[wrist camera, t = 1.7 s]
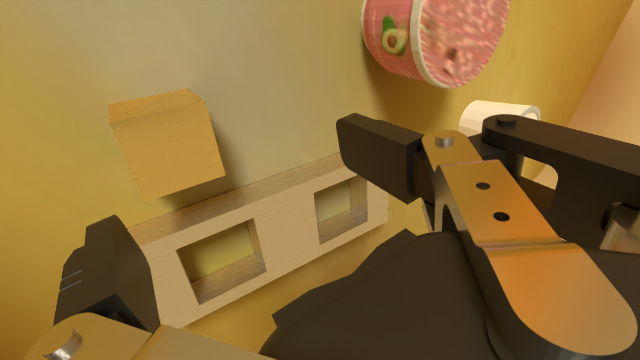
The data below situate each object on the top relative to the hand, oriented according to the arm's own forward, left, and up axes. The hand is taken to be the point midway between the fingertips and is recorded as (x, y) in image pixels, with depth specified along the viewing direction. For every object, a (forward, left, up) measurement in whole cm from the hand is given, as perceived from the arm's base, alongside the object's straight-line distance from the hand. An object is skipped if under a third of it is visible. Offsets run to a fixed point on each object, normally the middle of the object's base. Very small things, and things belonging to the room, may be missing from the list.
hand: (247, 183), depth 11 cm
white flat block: (+6, -13, -15) cm, 20 cm away
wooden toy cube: (-1, -2, -15) cm, 15 cm away
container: (+21, +3, -15) cm, 26 cm away
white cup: (+36, -11, -15) cm, 40 cm away
